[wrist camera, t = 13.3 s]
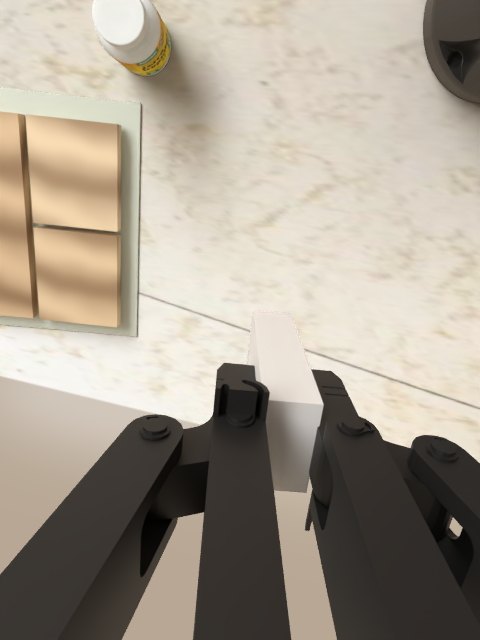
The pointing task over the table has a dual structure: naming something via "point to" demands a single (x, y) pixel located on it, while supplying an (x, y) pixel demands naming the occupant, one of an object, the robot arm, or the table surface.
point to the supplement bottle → (132, 34)
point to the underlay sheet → (130, 177)
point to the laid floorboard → (16, 222)
